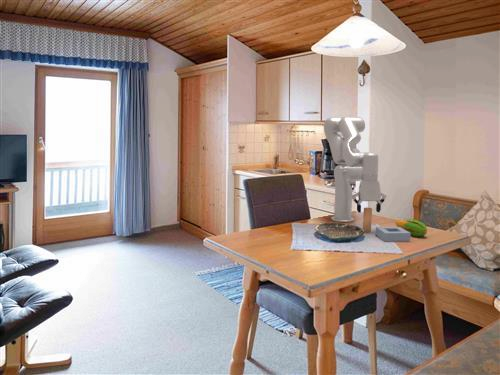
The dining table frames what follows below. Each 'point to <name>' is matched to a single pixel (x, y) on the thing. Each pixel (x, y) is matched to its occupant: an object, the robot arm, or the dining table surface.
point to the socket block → (393, 234)
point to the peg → (367, 219)
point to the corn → (413, 227)
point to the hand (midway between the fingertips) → (368, 212)
